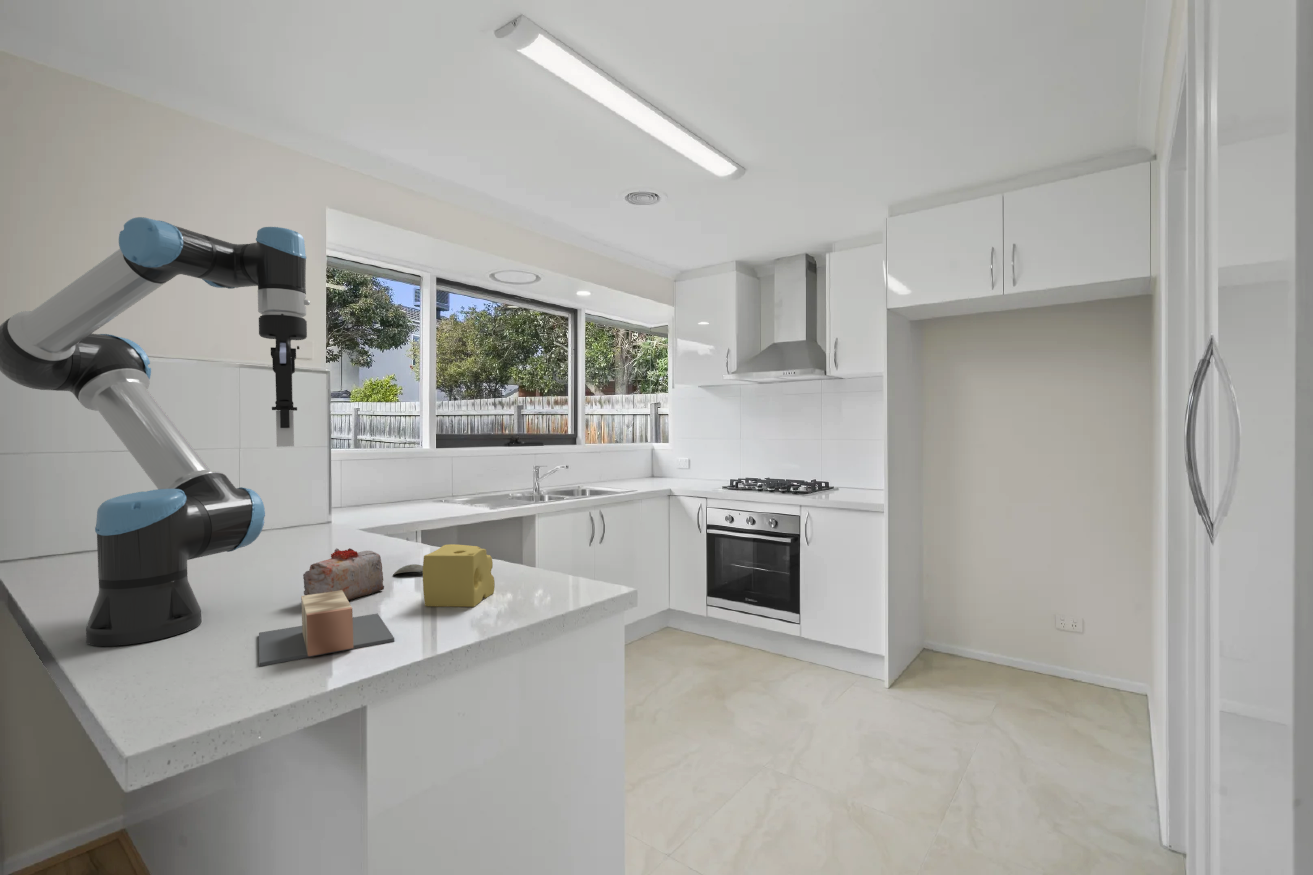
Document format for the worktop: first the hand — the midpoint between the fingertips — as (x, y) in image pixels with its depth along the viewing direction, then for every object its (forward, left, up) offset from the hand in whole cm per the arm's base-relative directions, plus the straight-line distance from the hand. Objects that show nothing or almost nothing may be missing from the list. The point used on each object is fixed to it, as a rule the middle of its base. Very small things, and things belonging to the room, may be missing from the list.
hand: (285, 446), depth 115 cm
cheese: (+28, -10, -31) cm, 43 cm away
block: (+4, -29, -27) cm, 40 cm away
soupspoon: (+28, +13, -31) cm, 44 cm away
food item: (+10, +6, -31) cm, 33 cm away
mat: (+4, -20, -31) cm, 37 cm away
